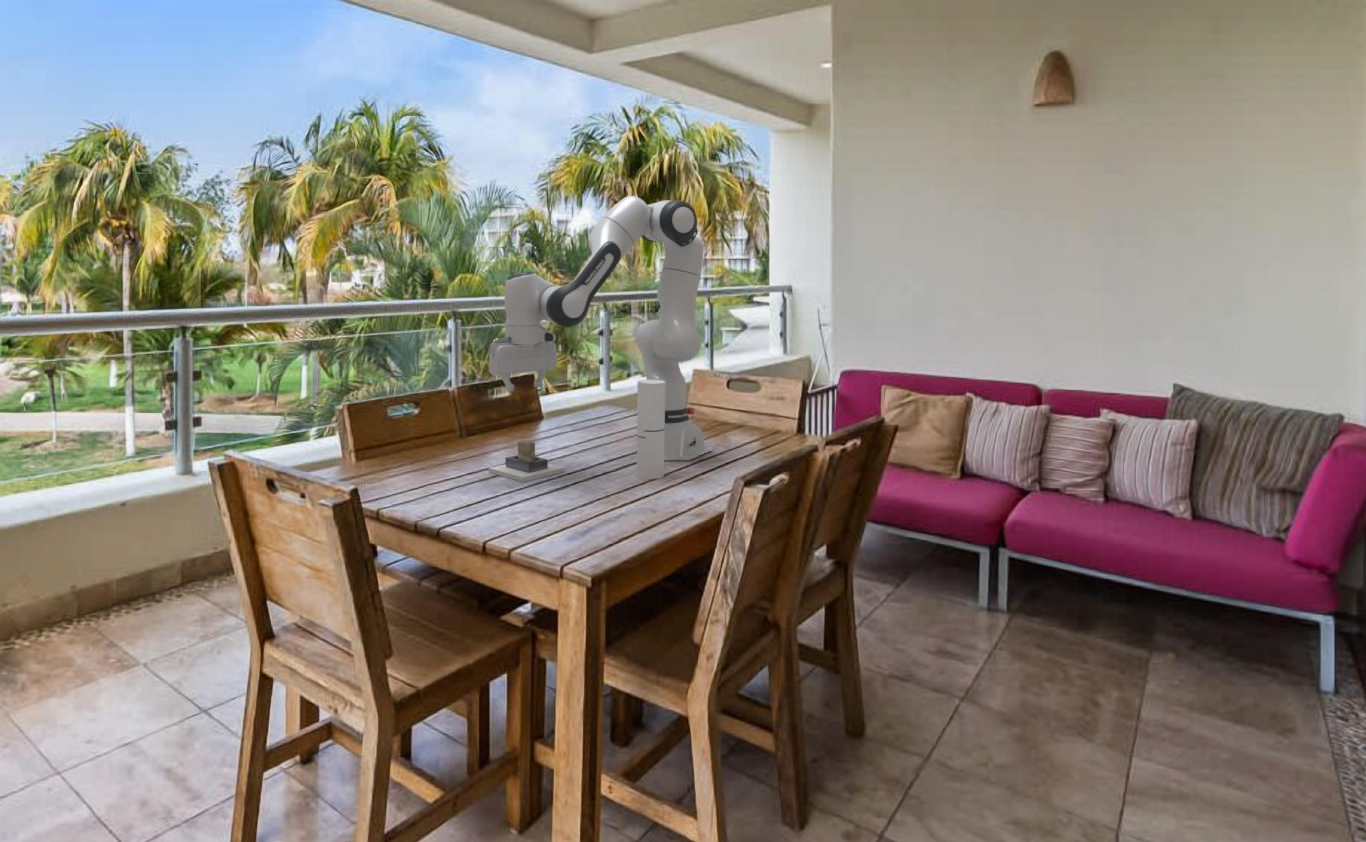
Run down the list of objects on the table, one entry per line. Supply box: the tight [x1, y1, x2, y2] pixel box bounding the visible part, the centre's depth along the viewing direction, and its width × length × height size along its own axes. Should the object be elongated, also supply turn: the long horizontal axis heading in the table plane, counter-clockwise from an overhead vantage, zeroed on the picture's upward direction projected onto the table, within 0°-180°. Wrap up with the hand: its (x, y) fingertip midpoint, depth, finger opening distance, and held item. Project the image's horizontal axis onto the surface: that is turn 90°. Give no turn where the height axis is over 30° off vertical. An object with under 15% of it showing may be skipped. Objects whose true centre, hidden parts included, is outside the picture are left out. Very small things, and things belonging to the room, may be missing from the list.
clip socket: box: [504, 454, 549, 473], centre depth 215 cm, size 6×9×2 cm
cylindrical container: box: [636, 379, 665, 480], centre depth 212 cm, size 7×7×25 cm
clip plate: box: [488, 463, 565, 483], centre depth 215 cm, size 14×14×1 cm
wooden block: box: [517, 439, 536, 462], centre depth 214 cm, size 2×4×7 cm, turn 50°
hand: (524, 389), depth 212 cm, fingers open, 8 cm apart
